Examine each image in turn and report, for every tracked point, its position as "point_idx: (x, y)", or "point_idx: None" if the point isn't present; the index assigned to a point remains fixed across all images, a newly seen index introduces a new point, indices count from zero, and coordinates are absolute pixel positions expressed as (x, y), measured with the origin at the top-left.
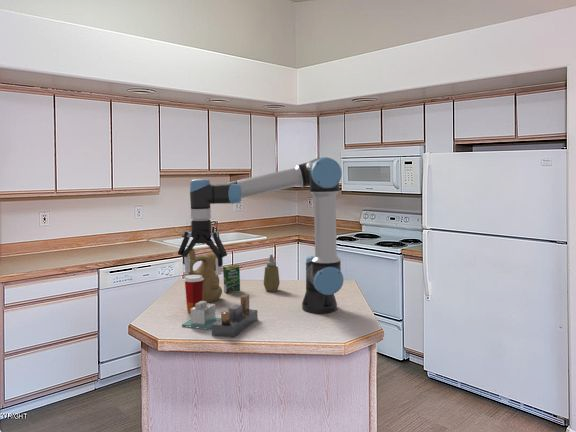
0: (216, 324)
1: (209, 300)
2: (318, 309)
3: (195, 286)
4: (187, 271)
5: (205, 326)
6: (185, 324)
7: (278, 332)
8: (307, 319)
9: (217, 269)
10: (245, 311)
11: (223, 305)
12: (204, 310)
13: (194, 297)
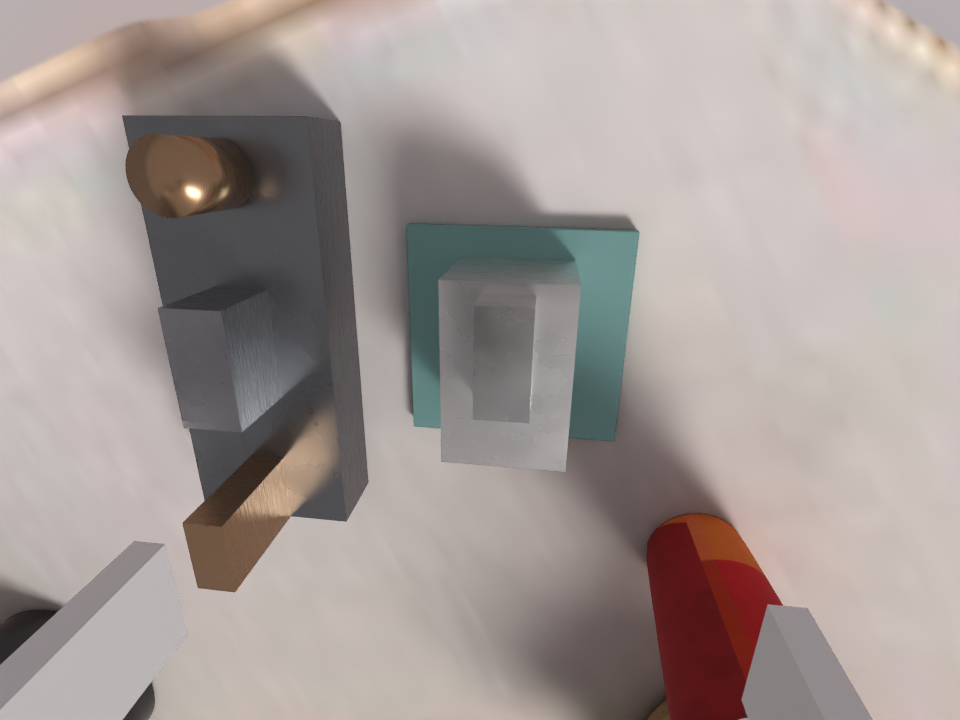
0: (269, 127)
1: (664, 707)
2: (15, 626)
3: (714, 680)
4: (773, 661)
5: (446, 240)
6: (611, 240)
7: (20, 298)
8: (27, 524)
9: (44, 626)
10: (248, 459)
11: (556, 663)
12: (438, 282)
13: (699, 594)
